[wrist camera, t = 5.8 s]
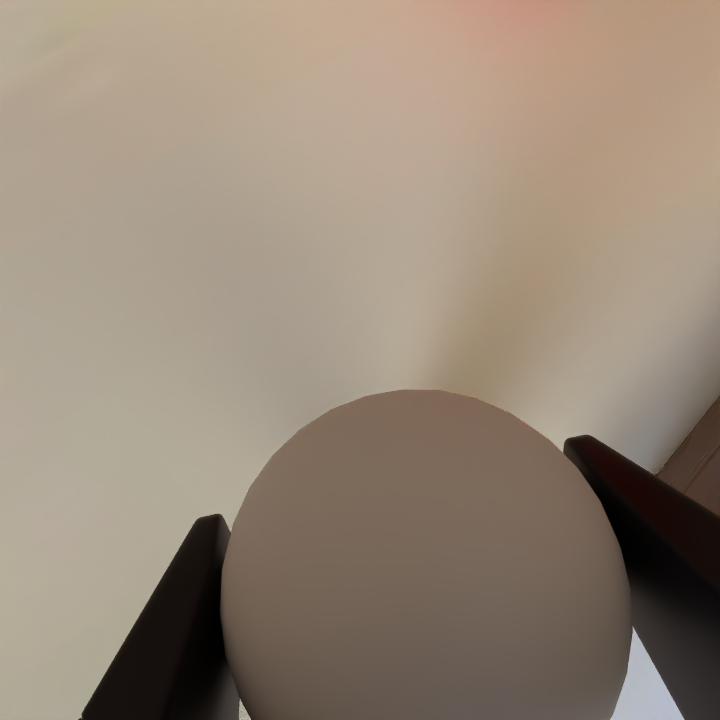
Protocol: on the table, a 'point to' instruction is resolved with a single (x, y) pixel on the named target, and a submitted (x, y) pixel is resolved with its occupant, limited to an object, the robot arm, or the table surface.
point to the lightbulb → (424, 572)
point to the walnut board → (698, 463)
